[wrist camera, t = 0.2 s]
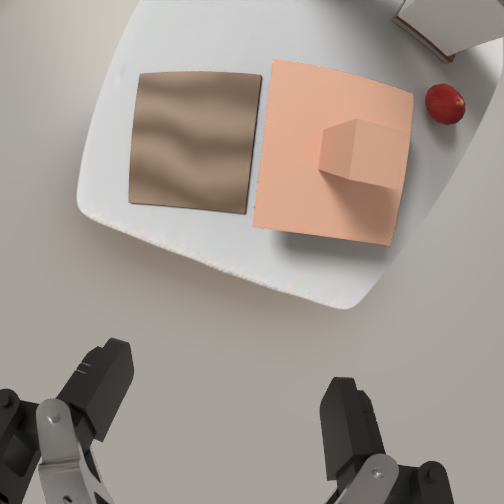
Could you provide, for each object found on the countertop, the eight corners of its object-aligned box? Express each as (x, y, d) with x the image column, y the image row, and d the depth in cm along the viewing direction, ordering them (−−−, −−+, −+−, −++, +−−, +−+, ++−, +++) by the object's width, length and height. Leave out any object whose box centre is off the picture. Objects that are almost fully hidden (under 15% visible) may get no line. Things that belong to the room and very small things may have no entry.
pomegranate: (438, 86, 29) (470, 78, 21) (450, 122, 31) (483, 120, 23) (410, 90, 30) (440, 81, 22) (423, 128, 31) (455, 126, 24)
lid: (271, 66, 25) (278, 14, 13) (403, 97, 25) (470, 78, 13) (253, 221, 30) (248, 266, 19) (381, 238, 31) (436, 286, 19)
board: (141, 74, 30) (140, 73, 30) (261, 75, 30) (261, 75, 30) (129, 201, 37) (128, 202, 36) (245, 212, 37) (244, 213, 36)
